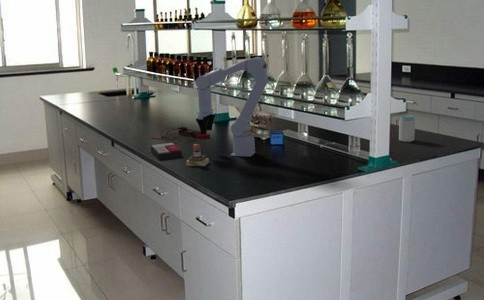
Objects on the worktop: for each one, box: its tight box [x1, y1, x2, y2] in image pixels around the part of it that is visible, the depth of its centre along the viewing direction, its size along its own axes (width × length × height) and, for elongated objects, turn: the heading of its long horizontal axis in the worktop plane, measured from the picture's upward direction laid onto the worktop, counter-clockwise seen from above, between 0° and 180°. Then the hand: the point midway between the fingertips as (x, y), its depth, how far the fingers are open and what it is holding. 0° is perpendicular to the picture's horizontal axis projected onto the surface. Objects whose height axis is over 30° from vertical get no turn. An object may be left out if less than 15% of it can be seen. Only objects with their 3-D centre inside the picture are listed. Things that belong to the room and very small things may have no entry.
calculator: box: [150, 142, 183, 160], centre depth 257 cm, size 11×4×15 cm
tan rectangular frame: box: [185, 154, 210, 167], centre depth 238 cm, size 8×6×3 cm
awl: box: [192, 143, 202, 158], centre depth 238 cm, size 3×3×6 cm
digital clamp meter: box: [151, 126, 211, 145], centre depth 290 cm, size 23×4×25 cm
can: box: [398, 114, 416, 143], centre depth 264 cm, size 7×7×12 cm
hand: (206, 132), depth 254 cm, fingers open, 7 cm apart
